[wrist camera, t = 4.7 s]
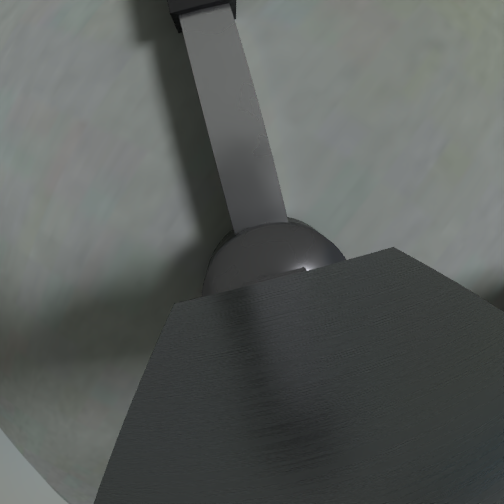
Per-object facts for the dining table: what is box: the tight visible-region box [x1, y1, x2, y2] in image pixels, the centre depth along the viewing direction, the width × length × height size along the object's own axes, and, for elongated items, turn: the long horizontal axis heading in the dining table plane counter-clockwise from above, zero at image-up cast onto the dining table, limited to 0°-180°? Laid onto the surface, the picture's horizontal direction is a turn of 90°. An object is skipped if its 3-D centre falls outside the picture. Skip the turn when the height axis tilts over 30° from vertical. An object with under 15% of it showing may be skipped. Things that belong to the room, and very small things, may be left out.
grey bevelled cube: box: [94, 247, 504, 504], centre depth 5 cm, size 6×6×7 cm
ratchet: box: [167, 0, 346, 297], centre depth 10 cm, size 24×6×6 cm, turn 14°
